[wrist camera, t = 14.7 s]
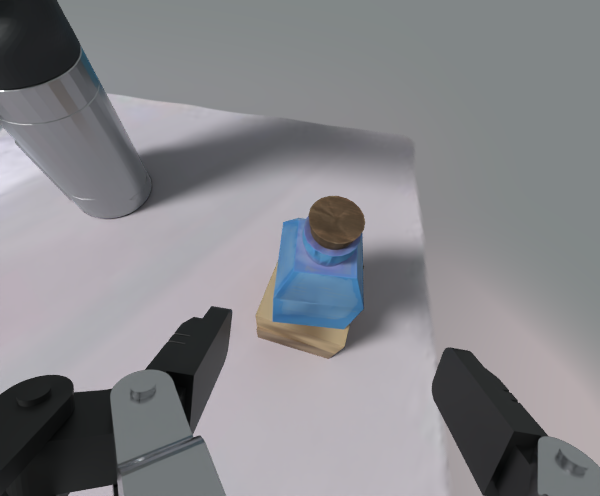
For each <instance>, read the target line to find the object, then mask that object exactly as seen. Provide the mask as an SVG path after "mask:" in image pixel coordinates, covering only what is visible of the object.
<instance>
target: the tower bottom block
mask: <svg viewBox="0 0 600 496" xmlns="http://www.w3.org/2000/svg"><path fill="white" fill-rule="evenodd" d="M257 335H258V337H259V338H262V339H265V340H269V341H272V342H275V343H278V344H282V345H285V346H288V347H291V348H295V349H298V350H301V351H304V352H308V353H311V354H314V355H317V356H321V357H324V358H327V359H329V358H330V357H332V356H333V355H334V354H333V353H331V352H328V351H325V350H322V349H319V348H317V347H314V346H311V345H308V344H305V343H303V342H300V341H297V340H294V339H292V338H289V337H286V336H283V335H280V334H278V333H275V332H272V331H269V330H266V329H264V328H261V327H257Z"/></svg>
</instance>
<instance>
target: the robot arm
mask: <svg viewBox="0 0 600 496" xmlns="http://www.w3.org/2000/svg"><path fill="white" fill-rule="evenodd" d="M0 125H1V126H2V127H3V128H4V129H5V130H6V131H7V132H8V133H9V134H10V135H11V136H12V137H13V138H14V139H15V143H16V145H17V146H18V147H19V148H20V149H21V150H22V151H23V152H24V153H25V154H26V155H27V156H28V157H29V158H30V159H31V160H32V161H33V162H34V163H35V164H36V165H37V166H38V167H39V168H40V169H41V171H42V172H43V173H44V174H45V175H46V176H47V177H48V178H49V179H50V180H51V181H52V182H53V183H54V184H55V185H56V186H57V187H58V188H59V189H60V190H61V191H62V192H63V193H64V194H65V195H66V196H67V197H68V198H69V199H70V200H73V201H74V202H75V203H76V204H77V206H78V207H79V208H80V209H81V210H83V211H84V212H85V213H86V214H88V215H90V216H93V217H97V218H105V219H108V218H117V217H121V216H124V215H127V214H129V213H131V212H133V211H135V210H136V209H138V208H139V207H140V206H141V205H142V204H144V202H145V201H146V200H147V199H148V197H149V195H150V193H151V188H152V185H151V179H150V177H149V175H148V173H147V171H146V169H145V167H144V165H143V163H142V161H141V160H140V158H139V155H138V154H137V152H136V150H135V148H134V146H133V144H132V142H131V140H130V138H129V136H128V134H127V132H126V131H125V129H124V127H123V125H122V123H121V121H120V119H119V117H118V115H117V113H116V111H115V110H114V108H113V106H112V104H111V102H110V100H109V98H108V96H107V94H106V92H105V90H104V88H103V87H102V85H101V83H100V81H99V79H98V77H97V75H96V73H95V72H94V70H93V68H92V66H91V64H90V62H89V60H88V58H87V56H86V54H85V53H84V51H83V49H82V47H81V45H80V43H79V41H78V39H77V37H76V35H75V33H74V31H73V29H72V28H71V26H70V24H69V22H68V20H67V19H66V17H65V15H64V13H63V11H62V9H61V7H60V6H59V4H58V2H57V0H0ZM231 320H232V310H231V309H226V308H220V307H214V306H211V307H210V309H209V310H208V312H207V313H206V314H205V316H204V317H203V319H202V318H197V317H193V318H191V319H190V320H188V321H186V322H184V323H182V324H181V326H180V327H179V328H178V329H177V331H176V332H175V334H173V336H172V337H171V338H170V339H169V341H168V342H167V343H166V344H165V345H164V347H163V348H162V349H161V350H160V352H159V353H158V354H157V355H156V357H155V358H154V359H153V360H152V362H151V363H150V364H149V365H148V367H147V368H146V369H145V370H142V371H137V372H134V373H132V374H129V375H127V376H125V377H124V378H122V379H121V380H120V381H119V382H117V383H116V385H115V386H114V387H113V389H108V390H99V391H87V392H75V393H74V387H73V383H72V381H71V380H70V379H68V378H67V377H64V376H60V375H45V376H39V377H35V378H31V379H28V380H25V381H23V382H20V383H18V384H16V385H14V386H12V387H11V388H9V389H7V390H6V391H5V392H3V393H2V394H1V395H0V496H68V494H69V493H70V492H75V491H81V490H86V489H92V488H97V487H103V486H109V485H112V493H113V496H226V494H225V492H224V489H223V487H222V484H221V482H220V479H219V476H218V474H217V471H216V469H215V466H214V464H213V461H212V458H211V456H210V453H209V451H208V448H207V446H206V443H205V441H204V439H203V438H202V437H201V436H196V437H193V433H194V431H195V429H196V426H197V424H198V422H199V419H200V417H201V415H202V413H203V410H204V408H205V406H206V403H207V401H208V399H209V397H210V394H211V392H212V390H213V387H214V385H215V383H216V381H217V378H218V376H219V374H220V371H221V369H222V367H223V365H224V362H225V359H226V356H227V351H228V346H229V337H230V329H231ZM432 395H433V399H434V401H435V403H436V405H437V407H438V409H439V411H440V413H441V415H442V417H443V419H444V421H445V422H446V424H447V426H448V428H449V430H450V432H451V434H452V436H453V438H454V440H455V442H456V444H457V446H458V448H459V450H460V452H461V453H462V455H463V457H464V459H465V461H466V463H467V465H468V467H469V469H470V471H471V473H472V475H473V477H474V479H475V481H476V483H477V485H478V487H479V489H480V491H481V492H482V494H483V495H484V496H600V467H599V466H598V465H597V464H596V463H595V462H594V461H593V460H592V459H591V458H589V457H588V456H587V455H586V454H584V453H583V452H582V451H580V450H579V449H577V448H576V447H574V446H572V445H570V444H569V443H566V442H564V441H562V440H560V439H557V438H553V437H549V436H548V435H547V434H546V433H545V432H544V430H543V429H542V428H541V427H540V426H539V425H538V424H537V422H536V421H535V420H534V419H533V418H532V417H531V415H530V414H529V413H528V412H527V411H526V410H525V408H523V406H522V405H521V404H520V403H518V401H517V399H516V398H515V397H514V396H513V395H512V393H509V390H508V389H507V388H506V387H505V385H504V384H503V383H502V382H501V381H500V380H499V379H498V378H497V377H496V376H495V375H493V374H492V373H491V372H489V371H488V370H487V369H485V368H484V367H483V365H482V364H481V363H480V362H479V361H478V359H477V358H476V357H475V356H474V355H473V354H472V353H471V352H470V351H467V350H461V349H454V348H446V349H445V350H444V352H443V354H442V357H441V360H440V363H439V365H438V368H437V371H436V374H435V376H434V379H433V383H432Z"/></svg>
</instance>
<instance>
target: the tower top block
mask: <svg viewBox="0 0 600 496" xmlns="http://www.w3.org/2000/svg"><path fill="white" fill-rule="evenodd" d="M277 266H278V262H277V264H276V267H275V269H274V272H273V274H272V276H271V279H270V281H269V284H268V286H267V289H266V291H265V294H264V296H263V298H262V301H261V303H260V306H259V308H258V311H257V313H256V322H257V326H258V327H261V328H264V329H266V330H269V331H272V332H275V333H278V334H280V335H283V336H286V337H289V338H292V339H294V340H297V341H300V342H303V343H305V344H308V345H311V346H314V347H317V348H319V349H322V350H325V351H328V352H331V353H333V354H336V353H337V352H338V351H340V350H341V349H342V348H344V346H345V342H346V338H347V334H348V330H349V326H350V324H349V325H348V326H347V327H346V328H345V329H335V328H326V327H316V326H307V325H298V324H289V323H279V322H272V319H273V296H274V288H275V281H276V273H277ZM363 269H364V266H363Z"/></svg>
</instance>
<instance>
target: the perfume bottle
mask: <svg viewBox="0 0 600 496" xmlns="http://www.w3.org/2000/svg"><path fill="white" fill-rule="evenodd" d="M364 225H365V219H364V215H363V213H362V211H361V210H360V208H359V207H358V206H357V205H356V204H355V203H354V202H352V201H350V200H348V199H347V198H344V197H340V196H327V197H324V198H321V199H319V200H318V201H316V202H315V203H314V204H313V206H312V207H311V208H310V212H309V216H308V217H307V218H306V219H304V218H297V219H293V220H290V221H286V222H283V229H282V236H281V244H280V251H279V259H278V266H277V273H276V281H275V288H274V296H273V319H272V322H279V323H289V324H298V325H307V326H316V327H326V328H335V329H345V328H346V327H347V326H348V325H349V324H350V322H351V321H352V320H353V319H354V318H355V317H356V316H357V315H358V314H359V313H360V312H361V311H362V310H363V309H364V302H363V243H362V232H363V230H364Z"/></svg>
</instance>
